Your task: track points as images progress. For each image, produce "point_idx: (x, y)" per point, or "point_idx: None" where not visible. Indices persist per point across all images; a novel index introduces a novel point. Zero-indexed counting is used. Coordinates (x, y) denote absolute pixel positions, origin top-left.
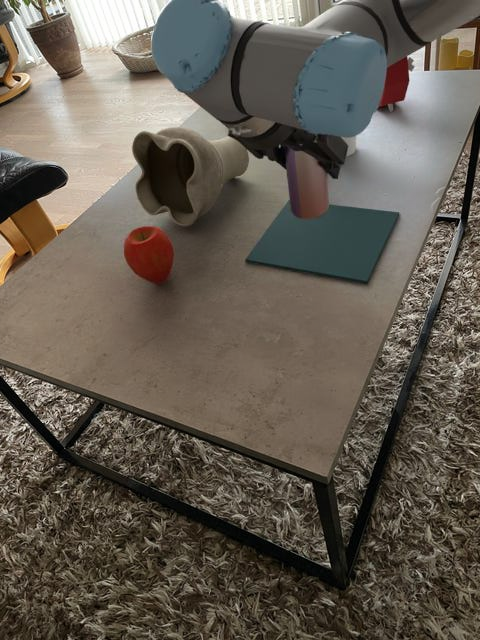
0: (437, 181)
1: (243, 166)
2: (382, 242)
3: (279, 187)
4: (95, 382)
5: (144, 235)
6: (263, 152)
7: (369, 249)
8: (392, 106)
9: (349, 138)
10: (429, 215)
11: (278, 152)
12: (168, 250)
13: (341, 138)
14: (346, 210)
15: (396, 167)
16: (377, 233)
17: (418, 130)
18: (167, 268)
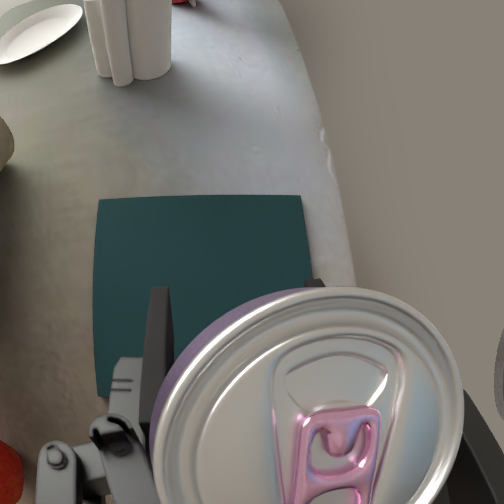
0: (311, 116)
1: (7, 151)
2: None
3: (72, 166)
4: None
5: None
6: (100, 493)
7: None
8: (195, 1)
9: (164, 53)
10: (337, 191)
11: (149, 451)
12: (9, 484)
13: (502, 455)
14: (214, 207)
15: (244, 90)
16: (291, 258)
17: (240, 30)
18: (22, 482)
